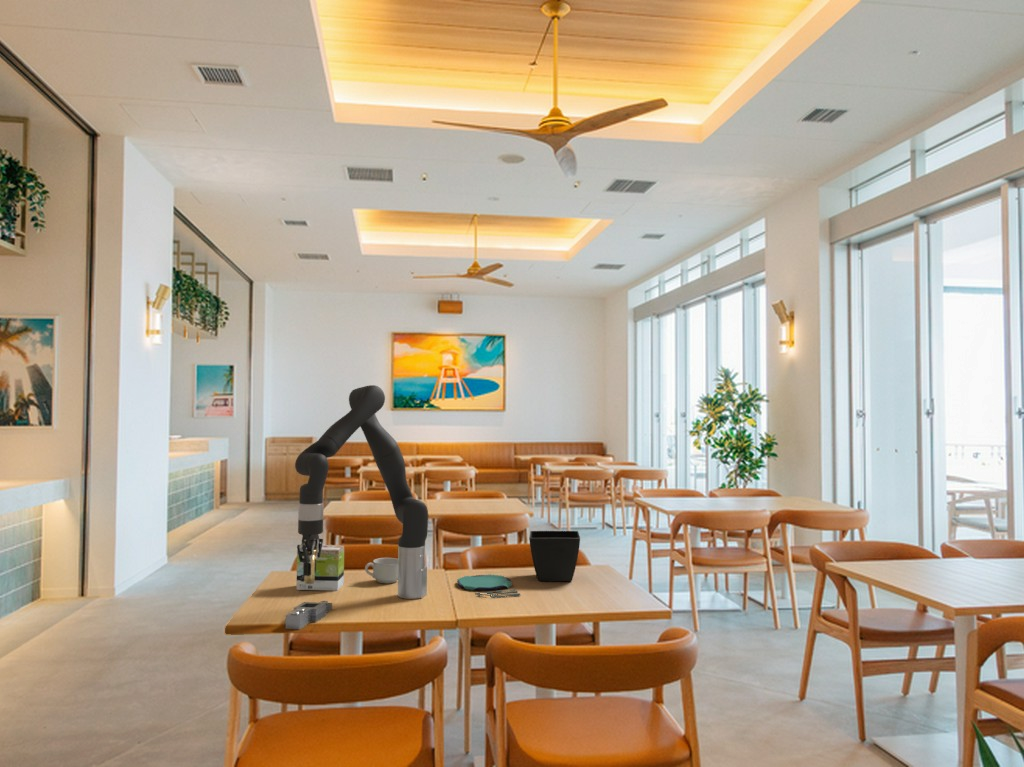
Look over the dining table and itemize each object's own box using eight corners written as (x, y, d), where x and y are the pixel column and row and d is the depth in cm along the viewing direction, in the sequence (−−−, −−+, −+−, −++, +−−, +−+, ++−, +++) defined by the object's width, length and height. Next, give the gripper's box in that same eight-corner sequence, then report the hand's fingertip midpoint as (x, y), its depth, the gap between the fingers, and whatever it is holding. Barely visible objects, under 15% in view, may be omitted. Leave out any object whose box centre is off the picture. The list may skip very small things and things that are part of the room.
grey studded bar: (336, 609, 246) (336, 594, 247) (304, 629, 224) (304, 613, 224) (315, 608, 248) (315, 594, 248) (281, 628, 225) (281, 612, 225)
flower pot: (530, 572, 303) (530, 529, 303) (578, 573, 302) (578, 530, 302) (529, 583, 284) (529, 537, 284) (580, 584, 283) (580, 538, 283)
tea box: (295, 591, 271) (296, 549, 272) (303, 584, 282) (303, 544, 282) (338, 591, 272) (338, 549, 272) (344, 584, 282) (344, 544, 282)
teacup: (399, 577, 293) (399, 556, 294) (404, 583, 283) (404, 562, 283) (362, 580, 289) (362, 558, 289) (366, 586, 279) (366, 564, 279)
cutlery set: (503, 578, 293) (503, 572, 293) (526, 598, 264) (526, 591, 264) (452, 582, 288) (452, 576, 288) (469, 603, 259) (469, 596, 259)
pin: (317, 581, 238) (318, 549, 238) (312, 584, 234) (313, 551, 234) (306, 581, 238) (306, 548, 239) (300, 583, 235) (301, 550, 235)
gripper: (312, 521, 229) (311, 579, 229) (331, 515, 243) (330, 570, 242) (288, 520, 231) (287, 578, 230) (309, 514, 244) (308, 569, 244)
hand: (309, 574), depth 236 cm, fingers closed on pin, 3 cm apart
